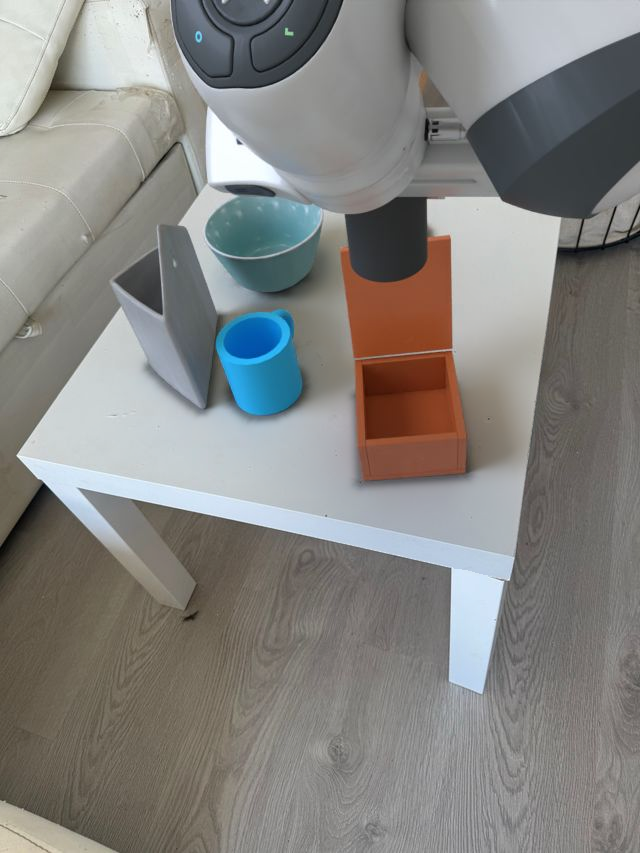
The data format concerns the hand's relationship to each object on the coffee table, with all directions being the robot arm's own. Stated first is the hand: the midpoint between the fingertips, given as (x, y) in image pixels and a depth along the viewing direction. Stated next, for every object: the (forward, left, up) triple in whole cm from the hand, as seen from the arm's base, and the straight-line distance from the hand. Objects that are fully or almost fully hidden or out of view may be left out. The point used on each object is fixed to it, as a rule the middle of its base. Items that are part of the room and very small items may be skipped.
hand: (384, 188), depth 51 cm
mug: (+14, -8, -27) cm, 32 cm away
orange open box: (-1, +2, -27) cm, 27 cm away
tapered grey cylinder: (0, +1, 0) cm, 1 cm away
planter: (+26, -12, -27) cm, 40 cm away
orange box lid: (-1, -4, -15) cm, 16 cm away
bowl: (+15, -28, -27) cm, 42 cm away
